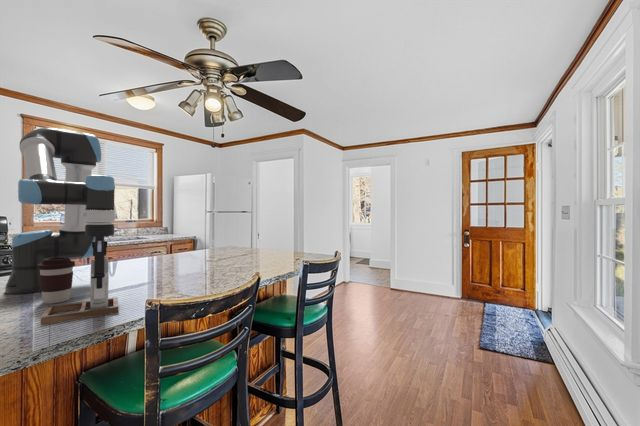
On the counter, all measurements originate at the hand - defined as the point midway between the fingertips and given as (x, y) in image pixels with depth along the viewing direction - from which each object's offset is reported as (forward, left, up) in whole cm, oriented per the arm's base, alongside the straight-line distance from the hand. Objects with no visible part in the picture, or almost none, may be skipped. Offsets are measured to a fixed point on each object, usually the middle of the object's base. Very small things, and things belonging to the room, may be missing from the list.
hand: (99, 295), depth 96 cm
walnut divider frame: (0, -4, -5) cm, 6 cm away
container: (0, 0, -4) cm, 4 cm away
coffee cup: (-20, -13, -5) cm, 24 cm away
